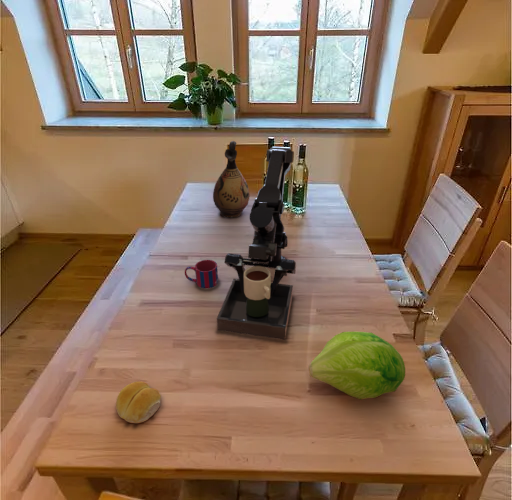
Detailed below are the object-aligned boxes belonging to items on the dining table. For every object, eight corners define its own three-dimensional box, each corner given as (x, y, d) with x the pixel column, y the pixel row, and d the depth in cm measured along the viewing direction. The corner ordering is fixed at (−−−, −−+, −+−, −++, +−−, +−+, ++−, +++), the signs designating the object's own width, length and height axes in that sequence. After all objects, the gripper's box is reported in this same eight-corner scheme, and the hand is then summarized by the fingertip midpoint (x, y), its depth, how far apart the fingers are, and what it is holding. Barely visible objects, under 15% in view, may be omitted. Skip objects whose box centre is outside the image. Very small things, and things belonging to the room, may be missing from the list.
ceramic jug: (249, 221, 147) (248, 148, 131) (212, 220, 147) (206, 148, 131) (250, 204, 161) (249, 137, 146) (216, 204, 162) (212, 137, 146)
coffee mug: (279, 317, 96) (281, 279, 89) (257, 328, 92) (257, 289, 85) (256, 296, 103) (256, 259, 96) (236, 305, 100) (234, 267, 93)
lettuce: (303, 356, 85) (307, 313, 78) (386, 356, 85) (398, 313, 78) (311, 414, 72) (317, 370, 65) (410, 415, 72) (427, 370, 65)
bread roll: (139, 381, 79) (135, 369, 77) (167, 401, 75) (165, 388, 73) (107, 409, 73) (103, 397, 71) (137, 432, 69) (133, 420, 67)
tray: (234, 291, 107) (233, 278, 104) (292, 298, 104) (293, 285, 102) (217, 332, 92) (216, 318, 90) (284, 341, 89) (285, 327, 87)
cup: (216, 291, 107) (214, 272, 103) (183, 289, 108) (181, 270, 104) (220, 278, 113) (219, 260, 109) (189, 276, 114) (187, 258, 110)
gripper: (224, 226, 90) (214, 287, 87) (297, 233, 87) (290, 296, 84) (233, 238, 101) (224, 292, 98) (298, 244, 98) (292, 300, 95)
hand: (256, 295), depth 93 cm, fingers closed on coffee mug, 7 cm apart
